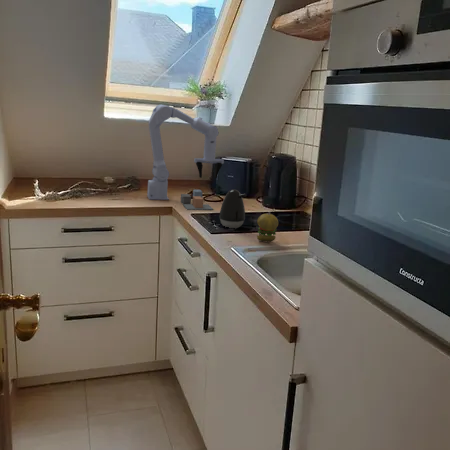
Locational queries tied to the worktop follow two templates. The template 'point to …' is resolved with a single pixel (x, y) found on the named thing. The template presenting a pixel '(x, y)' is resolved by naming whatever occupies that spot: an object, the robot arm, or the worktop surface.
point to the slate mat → (191, 207)
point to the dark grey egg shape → (232, 210)
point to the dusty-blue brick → (197, 193)
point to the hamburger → (267, 227)
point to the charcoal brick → (185, 199)
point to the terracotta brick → (197, 202)
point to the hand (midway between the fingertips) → (208, 177)
